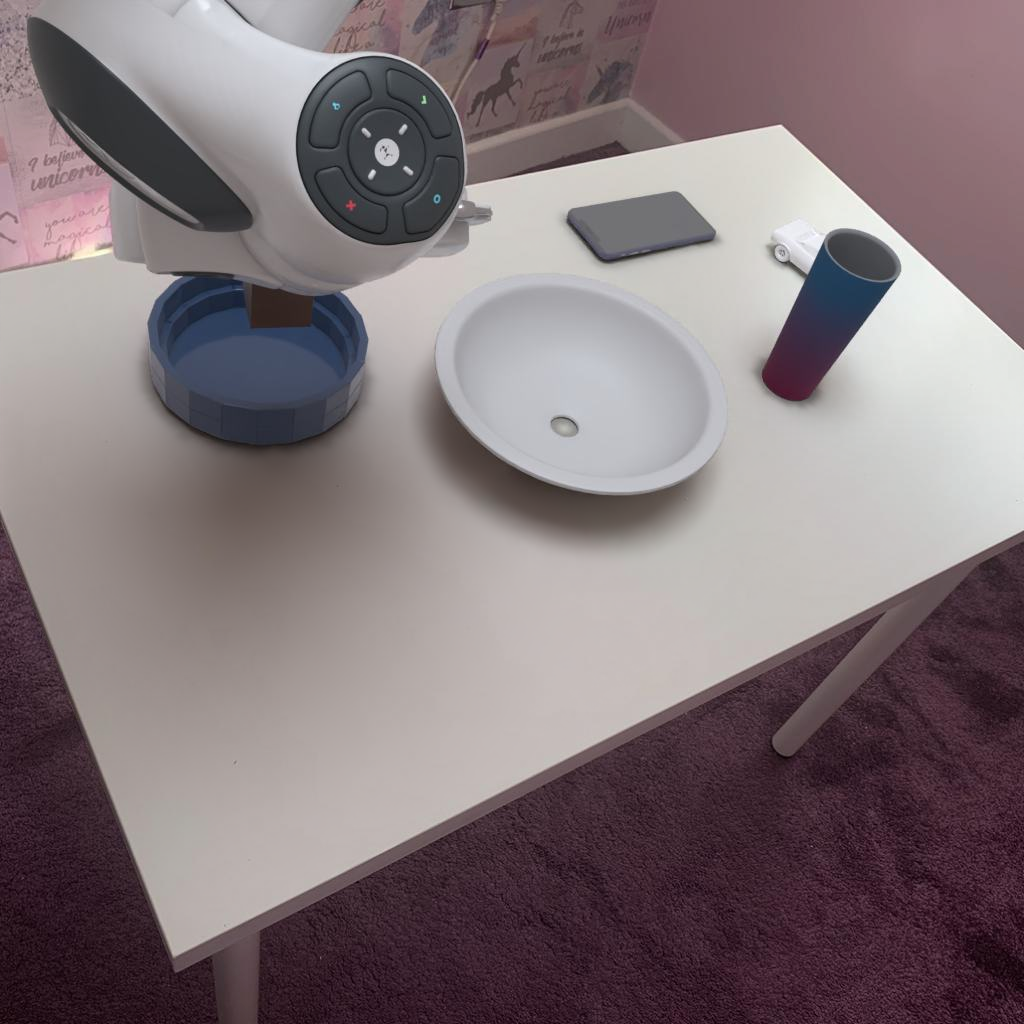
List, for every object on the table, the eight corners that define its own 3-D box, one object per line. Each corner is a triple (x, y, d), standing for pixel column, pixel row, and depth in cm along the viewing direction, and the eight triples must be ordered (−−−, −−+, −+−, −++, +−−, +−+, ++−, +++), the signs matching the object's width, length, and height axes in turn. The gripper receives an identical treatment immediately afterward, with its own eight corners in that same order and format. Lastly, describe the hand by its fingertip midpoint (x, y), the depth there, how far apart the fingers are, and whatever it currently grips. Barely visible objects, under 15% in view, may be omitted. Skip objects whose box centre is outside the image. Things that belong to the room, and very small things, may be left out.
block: (250, 328, 70) (254, 203, 62) (242, 288, 72) (245, 162, 64) (310, 327, 71) (322, 204, 64) (301, 287, 73) (311, 163, 66)
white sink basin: (396, 330, 91) (407, 270, 86) (647, 327, 99) (671, 272, 94) (456, 556, 78) (474, 501, 73) (741, 533, 86) (774, 482, 81)
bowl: (160, 457, 78) (158, 415, 74) (142, 304, 87) (139, 261, 83) (379, 442, 83) (386, 403, 80) (341, 300, 92) (346, 259, 89)
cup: (739, 374, 98) (809, 245, 87) (777, 345, 102) (849, 218, 90) (797, 419, 96) (877, 293, 85) (834, 387, 100) (915, 263, 88)
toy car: (845, 316, 107) (861, 291, 105) (759, 246, 112) (772, 220, 109) (875, 299, 110) (891, 274, 108) (790, 232, 114) (803, 206, 112)
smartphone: (720, 233, 110) (605, 256, 103) (716, 240, 110) (602, 264, 103) (678, 189, 113) (564, 208, 106) (675, 196, 114) (562, 216, 107)
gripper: (501, 150, 58) (431, 188, 71) (103, 139, 51) (106, 184, 64) (505, 268, 59) (436, 284, 72) (115, 272, 52) (116, 290, 65)
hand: (278, 237), depth 68 cm, fingers closed on block, 4 cm apart
